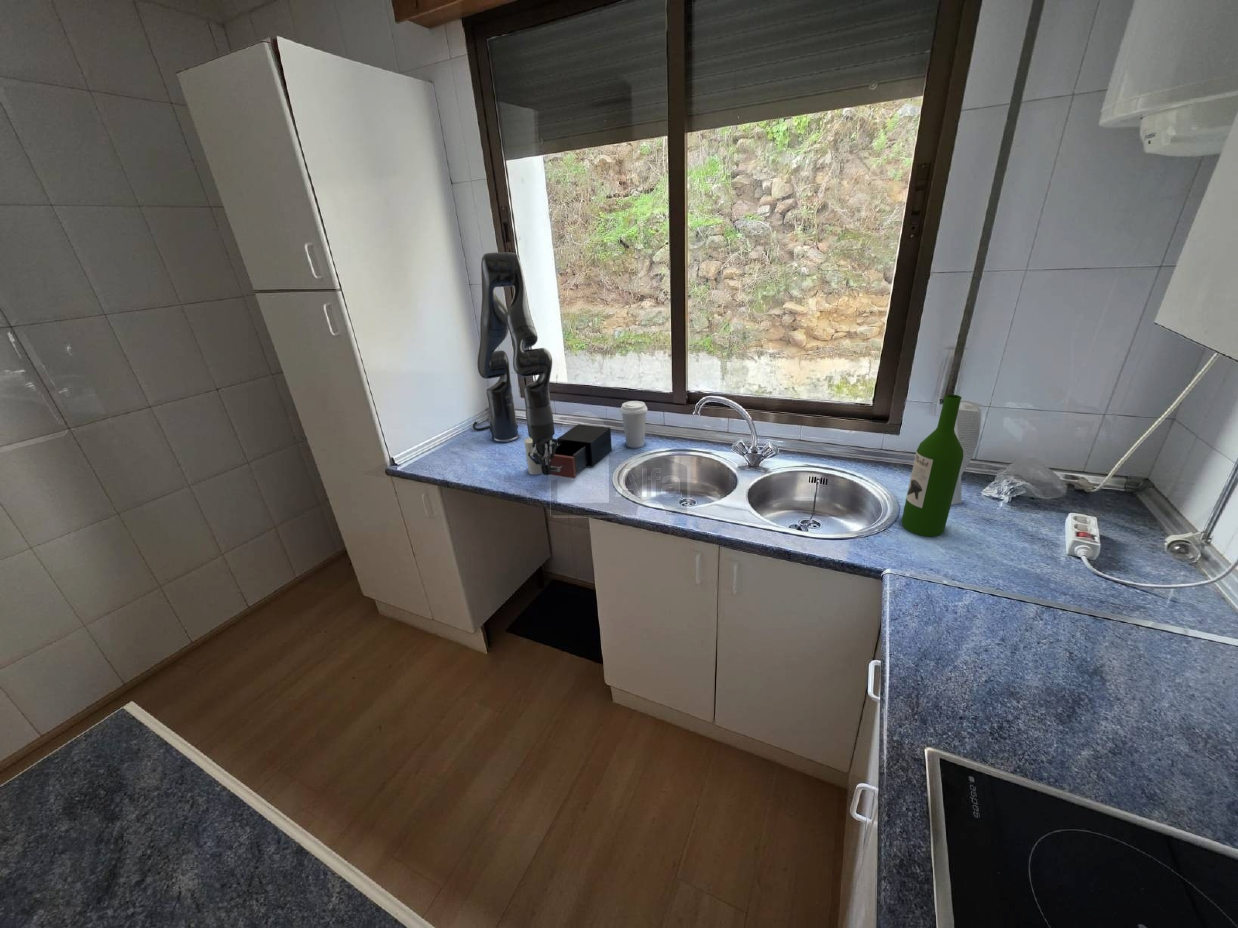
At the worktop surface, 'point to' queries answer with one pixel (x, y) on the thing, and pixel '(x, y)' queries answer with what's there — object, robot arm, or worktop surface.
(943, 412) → the wine bottle
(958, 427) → the light grey vase
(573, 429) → the black sliding tray box
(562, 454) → the drawer
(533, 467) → the container
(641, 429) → the coffee cup
